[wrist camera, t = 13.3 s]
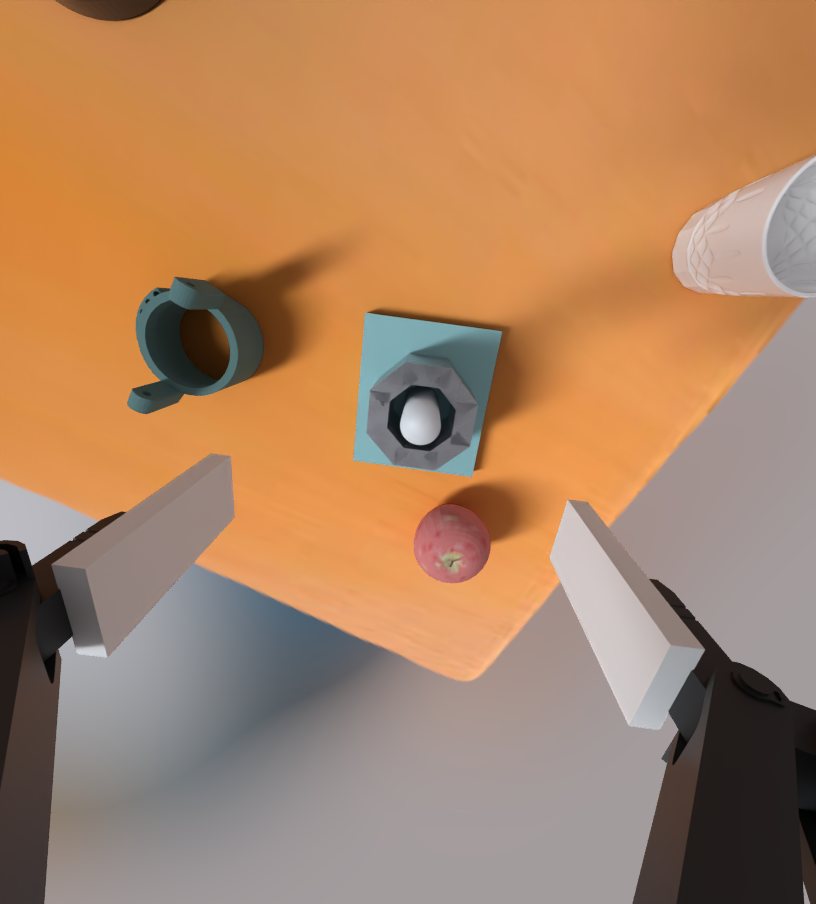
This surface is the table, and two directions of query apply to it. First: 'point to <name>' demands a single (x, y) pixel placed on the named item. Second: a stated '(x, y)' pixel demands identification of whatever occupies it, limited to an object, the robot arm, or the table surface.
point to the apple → (451, 544)
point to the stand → (423, 404)
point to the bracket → (166, 351)
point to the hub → (453, 428)
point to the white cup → (754, 239)
